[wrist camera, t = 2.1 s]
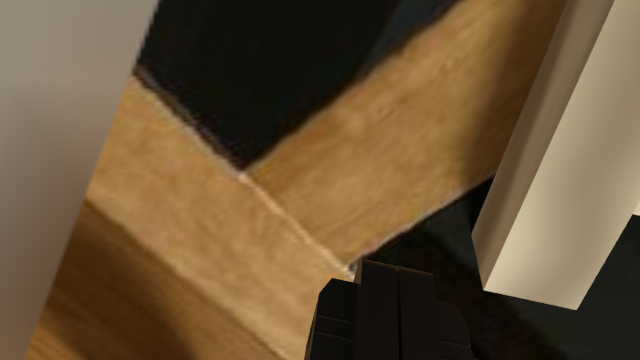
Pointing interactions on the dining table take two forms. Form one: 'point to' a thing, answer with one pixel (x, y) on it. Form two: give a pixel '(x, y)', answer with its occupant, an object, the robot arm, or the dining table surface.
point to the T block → (568, 161)
